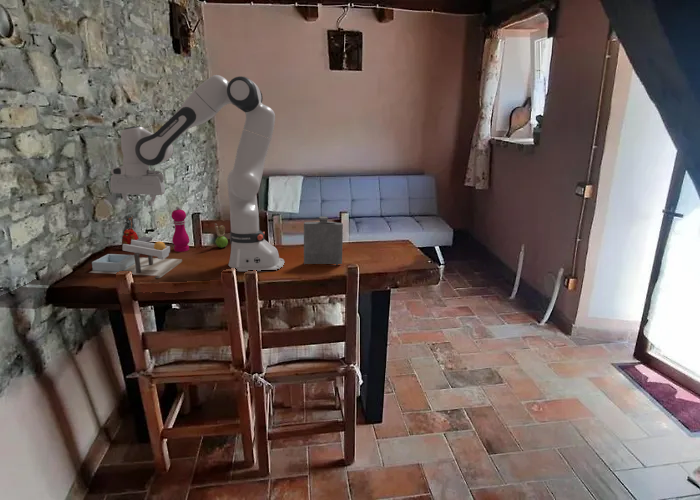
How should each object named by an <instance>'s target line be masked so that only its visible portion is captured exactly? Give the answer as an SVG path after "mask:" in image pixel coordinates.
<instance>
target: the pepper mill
mask: <svg viewBox="0 0 700 500" xmlns="http://www.w3.org/2000/svg"><path fill="white" fill-rule="evenodd" d="M186 217H187V213H186V211H185V210H183V209H181V206H180V205H177V206H176V207H175V209H174V210H173V211H172V212H171V219H172V220H173V225H174V232H173V235H172V244H173V245H174V246H173V248H174V249H173V250H174V252H177V253H183V252H188V251H189V250H190V245H188V244H189V243H190V237H189V234H188V233H187V231H186V227H185V224H186Z"/></svg>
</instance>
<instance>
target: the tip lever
mask: <svg viewBox="0 0 700 500" xmlns="http://www.w3.org/2000/svg"><path fill="white" fill-rule="evenodd" d="M138 238H139V239H137V240H131V244H130V245H128V244H123V247H122V251H125V252H130V253H134V254H135V253H139V256H140V255H147V256H148V255H151V256H153V257H156V258H158V259H162V260H163V259H167V257H169V256H170V253H171V246H170V245H166V244H165V249H163V250H156V249H154V244H155V243H154V242H151V241H153V237H151V236H145V235H144V236H142V237H138Z"/></svg>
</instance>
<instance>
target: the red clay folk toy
mask: <svg viewBox="0 0 700 500" xmlns="http://www.w3.org/2000/svg"><path fill="white" fill-rule="evenodd" d="M133 219H134V216H133V214H132V215H131V217H129V218H128V220H129V221H130V228H129V229H127V228H126V229H125V230H124V232H123V235H122V236H121V248H123V244H128V245H130V244H131V240H137V239H139V238H140V237H139V236H138V233H137V232H136V231H134V229H133Z"/></svg>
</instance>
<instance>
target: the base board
mask: <svg viewBox="0 0 700 500" xmlns="http://www.w3.org/2000/svg"><path fill="white" fill-rule="evenodd" d="M133 255H134V259H135V264H133V265H132V266H130V267H128V268H127V269H125V270H123V271H132V274H133V275H136V276H152V277H153V276H155V277H154V278H155V279H161V278H163V276H164V275H166V274H167V273H169V272H170V271H171V270H173V269H174V268H175V267H177V266H178V265H179V264H181V263H182V262H183V258H165V259H163V260H162V259H158V257H154V256H151V255H147V257H140V255H139V253H134V254H133ZM88 273H89V274H108V275H110V274H112V275H113V274H115V275H117V274H116V273H117V272H102V271H93V269H92V270H91V271H89V272H88Z"/></svg>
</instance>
